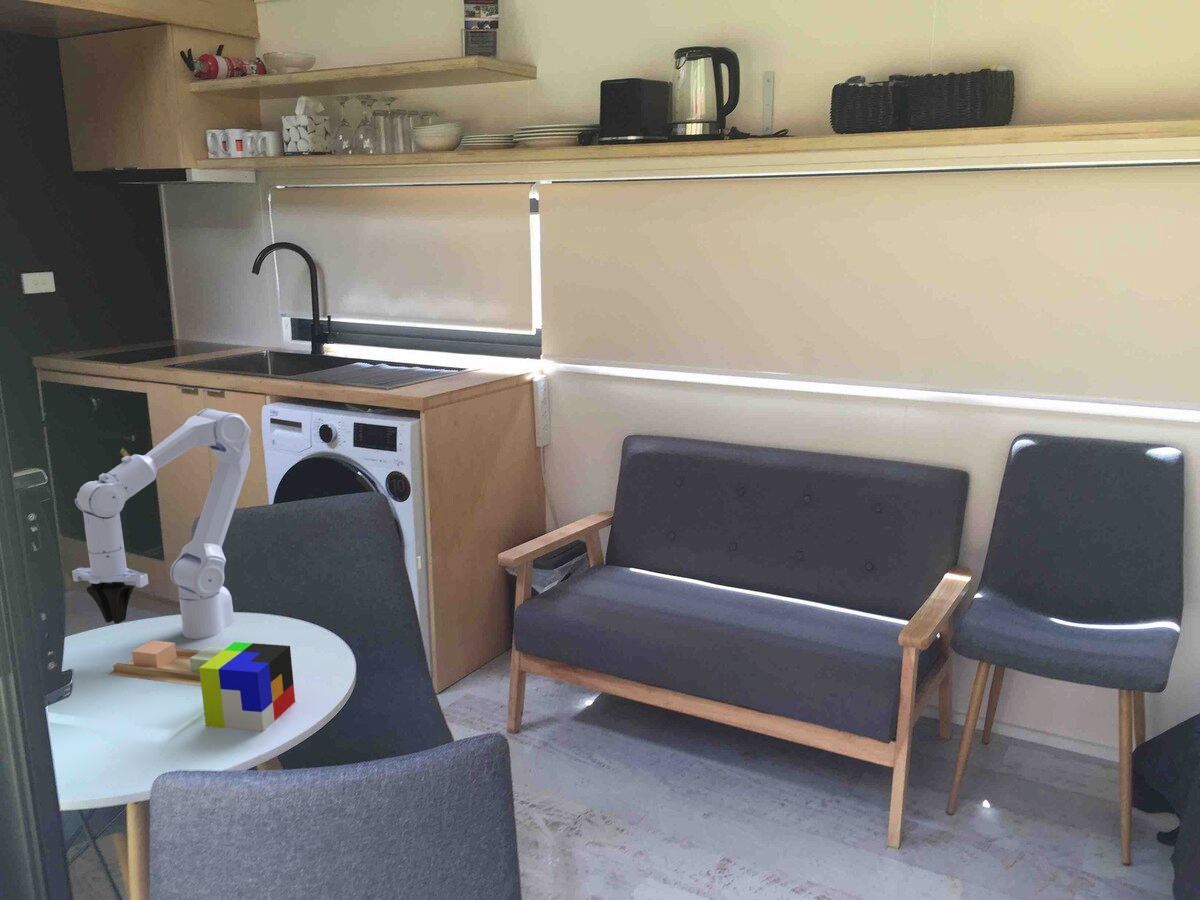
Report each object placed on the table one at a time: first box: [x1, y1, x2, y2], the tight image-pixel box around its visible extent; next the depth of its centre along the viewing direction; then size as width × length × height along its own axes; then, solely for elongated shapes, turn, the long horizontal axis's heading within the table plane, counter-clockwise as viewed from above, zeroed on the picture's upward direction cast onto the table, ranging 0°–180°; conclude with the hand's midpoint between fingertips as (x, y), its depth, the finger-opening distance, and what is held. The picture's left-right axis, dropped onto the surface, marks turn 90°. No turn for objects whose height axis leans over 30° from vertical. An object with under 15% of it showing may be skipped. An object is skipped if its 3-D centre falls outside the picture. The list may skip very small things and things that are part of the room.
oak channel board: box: [108, 646, 226, 687], centre depth 175 cm, size 12×26×4 cm, turn 74°
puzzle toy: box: [199, 641, 296, 732], centre depth 159 cm, size 10×10×10 cm
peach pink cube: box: [131, 639, 177, 668], centre depth 177 cm, size 5×5×3 cm
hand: (115, 621), depth 178 cm, fingers closed
